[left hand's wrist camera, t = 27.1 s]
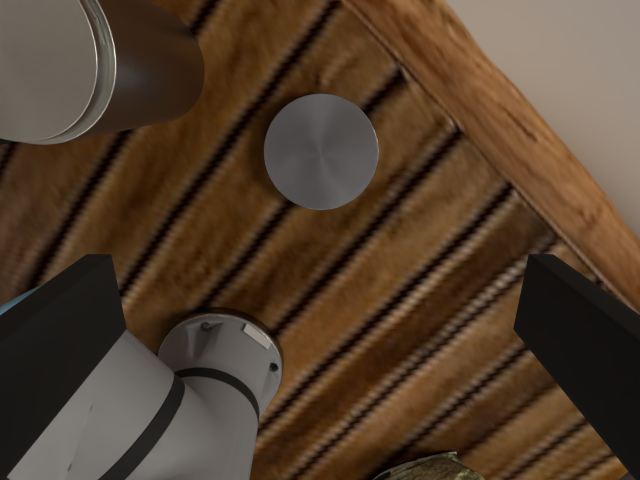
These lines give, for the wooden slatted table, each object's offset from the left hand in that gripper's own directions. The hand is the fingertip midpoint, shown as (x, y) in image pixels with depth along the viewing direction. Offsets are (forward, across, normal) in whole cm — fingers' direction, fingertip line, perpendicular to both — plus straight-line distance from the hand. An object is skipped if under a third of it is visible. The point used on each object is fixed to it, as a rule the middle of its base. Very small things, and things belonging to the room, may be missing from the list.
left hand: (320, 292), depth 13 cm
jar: (+30, +16, -8) cm, 35 cm away
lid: (+29, 0, 0) cm, 29 cm away
